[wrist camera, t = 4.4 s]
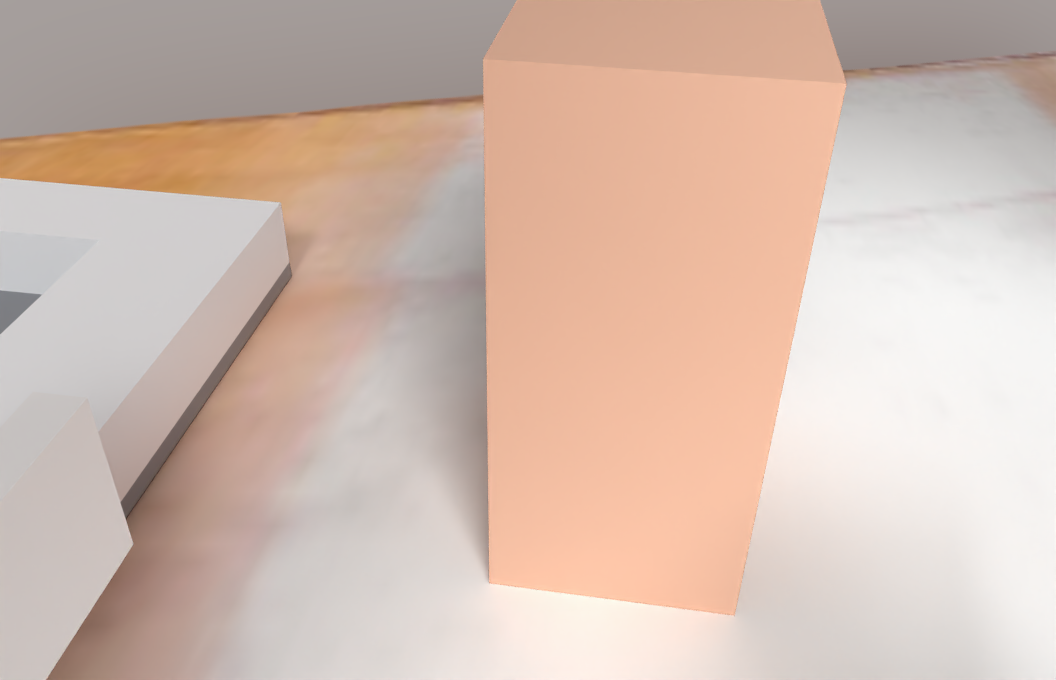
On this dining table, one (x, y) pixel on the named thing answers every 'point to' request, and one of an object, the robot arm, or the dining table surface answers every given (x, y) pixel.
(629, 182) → the peach block
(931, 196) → the dining table surface
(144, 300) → the pocket plate
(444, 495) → the dining table surface
